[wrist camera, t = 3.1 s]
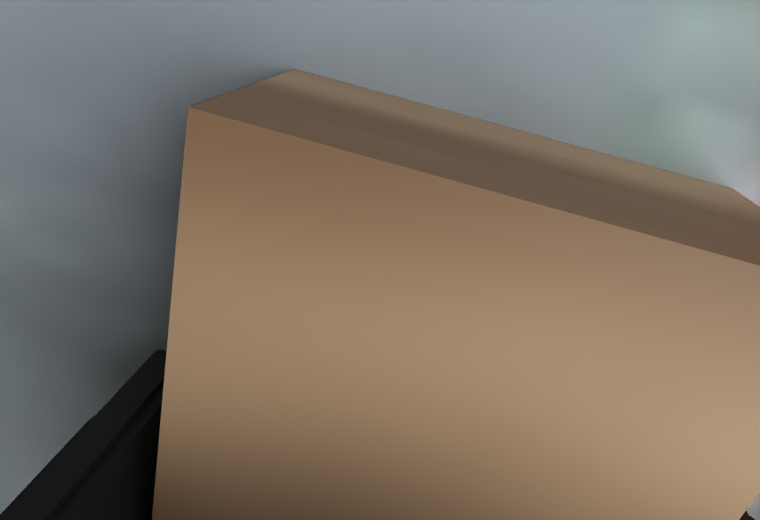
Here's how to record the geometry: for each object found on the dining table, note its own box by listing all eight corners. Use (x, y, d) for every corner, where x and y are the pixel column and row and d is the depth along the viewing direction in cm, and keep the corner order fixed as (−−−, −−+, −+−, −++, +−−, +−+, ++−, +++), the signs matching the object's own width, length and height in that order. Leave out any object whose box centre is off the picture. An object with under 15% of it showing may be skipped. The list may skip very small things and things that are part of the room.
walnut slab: (300, 67, 9) (187, 106, 5) (725, 183, 9) (900, 304, 5) (218, 550, 14) (132, 734, 11) (486, 632, 14) (491, 848, 10)
